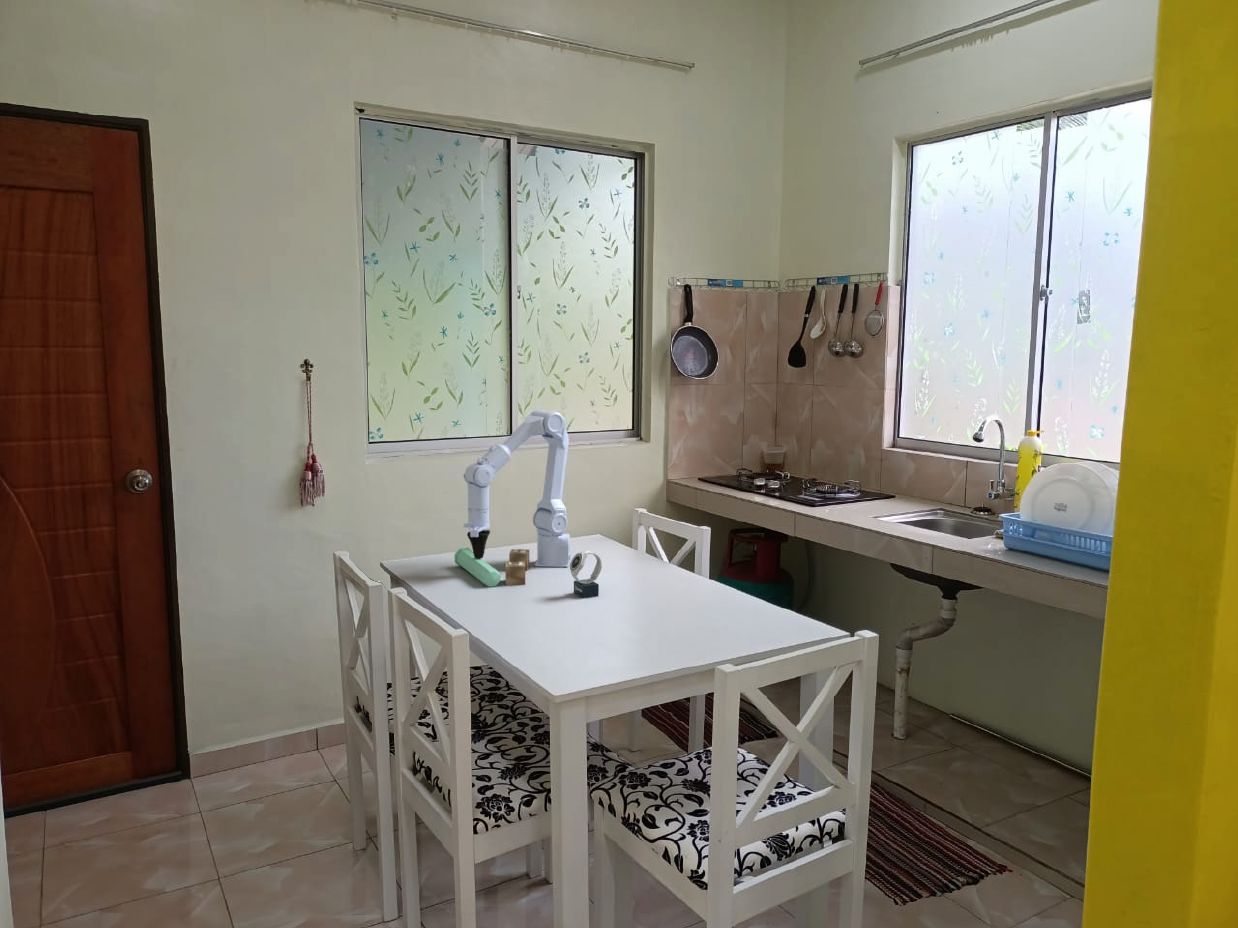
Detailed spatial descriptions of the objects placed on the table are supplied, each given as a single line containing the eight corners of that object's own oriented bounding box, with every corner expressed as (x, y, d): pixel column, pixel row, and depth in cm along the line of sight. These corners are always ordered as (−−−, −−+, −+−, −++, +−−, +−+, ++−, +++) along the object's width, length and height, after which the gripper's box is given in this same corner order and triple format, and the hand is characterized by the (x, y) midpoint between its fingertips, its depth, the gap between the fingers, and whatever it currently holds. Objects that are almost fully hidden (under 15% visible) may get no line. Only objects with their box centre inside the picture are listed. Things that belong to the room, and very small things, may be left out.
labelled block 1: (529, 566, 257) (529, 548, 256) (527, 571, 252) (527, 552, 252) (511, 566, 257) (511, 548, 257) (509, 570, 252) (509, 552, 252)
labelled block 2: (524, 579, 243) (524, 560, 242) (525, 584, 238) (525, 565, 237) (505, 580, 242) (505, 560, 241) (506, 585, 237) (506, 565, 237)
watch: (566, 593, 230) (567, 551, 229) (595, 590, 234) (595, 548, 232) (575, 599, 225) (576, 555, 224) (604, 595, 229) (605, 552, 228)
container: (499, 564, 235) (469, 543, 257) (479, 575, 233) (450, 552, 255) (507, 584, 237) (477, 561, 259) (487, 594, 234) (458, 570, 256)
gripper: (468, 503, 252) (469, 551, 254) (458, 513, 237) (459, 563, 239) (494, 503, 252) (494, 551, 253) (485, 513, 237) (485, 564, 239)
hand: (478, 557), depth 246 cm, fingers closed
